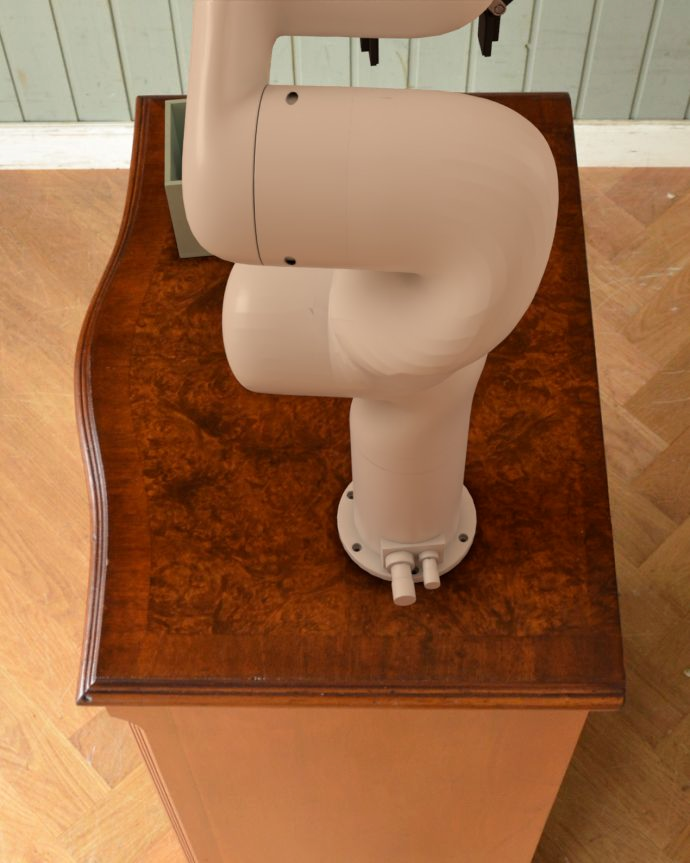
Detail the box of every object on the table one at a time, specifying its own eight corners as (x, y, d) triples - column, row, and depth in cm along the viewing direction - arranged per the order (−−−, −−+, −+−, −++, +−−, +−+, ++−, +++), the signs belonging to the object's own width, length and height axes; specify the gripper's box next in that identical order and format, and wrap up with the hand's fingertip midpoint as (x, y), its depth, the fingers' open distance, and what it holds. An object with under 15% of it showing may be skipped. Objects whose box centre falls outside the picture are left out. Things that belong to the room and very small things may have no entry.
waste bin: (301, 248, 125) (294, 174, 116) (180, 258, 125) (164, 185, 116) (294, 165, 132) (287, 90, 124) (179, 174, 132) (165, 100, 123)
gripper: (322, -107, 83) (331, 87, 97) (561, -125, 83) (535, 71, 97) (315, -162, 87) (325, 32, 101) (542, -179, 87) (520, 17, 101)
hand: (428, 51), depth 99 cm, fingers open, 9 cm apart
